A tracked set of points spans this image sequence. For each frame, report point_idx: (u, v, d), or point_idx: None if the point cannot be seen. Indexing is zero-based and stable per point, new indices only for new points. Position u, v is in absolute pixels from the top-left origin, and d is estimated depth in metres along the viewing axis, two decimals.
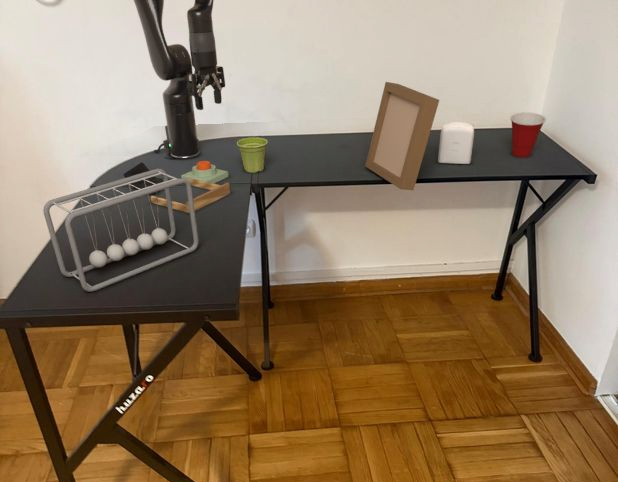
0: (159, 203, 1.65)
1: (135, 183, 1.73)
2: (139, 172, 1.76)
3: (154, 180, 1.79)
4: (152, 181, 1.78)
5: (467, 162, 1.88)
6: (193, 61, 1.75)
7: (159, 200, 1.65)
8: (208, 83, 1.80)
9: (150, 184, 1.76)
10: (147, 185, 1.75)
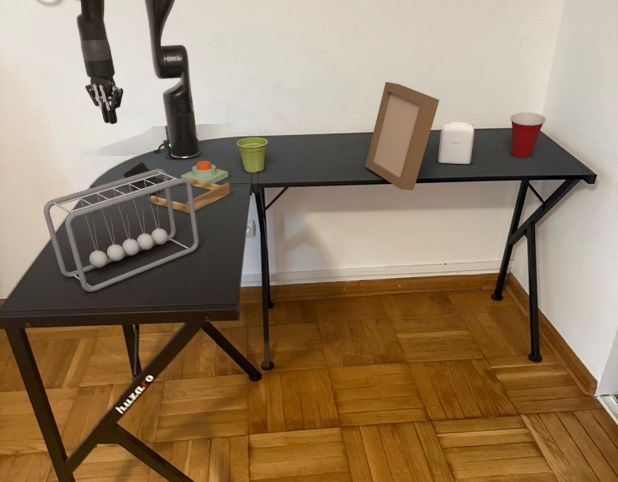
0: (159, 203, 1.65)
1: (135, 183, 1.73)
2: (139, 172, 1.76)
3: (154, 180, 1.79)
4: (152, 181, 1.78)
5: (467, 162, 1.88)
6: None
7: (159, 200, 1.65)
8: (101, 94, 1.67)
9: (150, 184, 1.76)
10: (147, 185, 1.75)
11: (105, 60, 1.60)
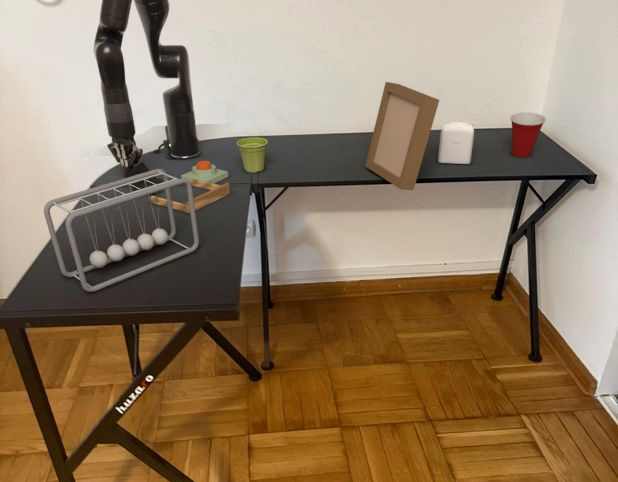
0: (159, 203, 1.65)
1: (135, 183, 1.73)
2: (139, 172, 1.76)
3: (154, 180, 1.79)
4: (152, 181, 1.78)
5: (467, 162, 1.88)
6: None
7: (159, 200, 1.65)
8: (121, 152, 1.74)
9: (150, 184, 1.76)
10: (147, 185, 1.75)
11: (127, 122, 1.67)
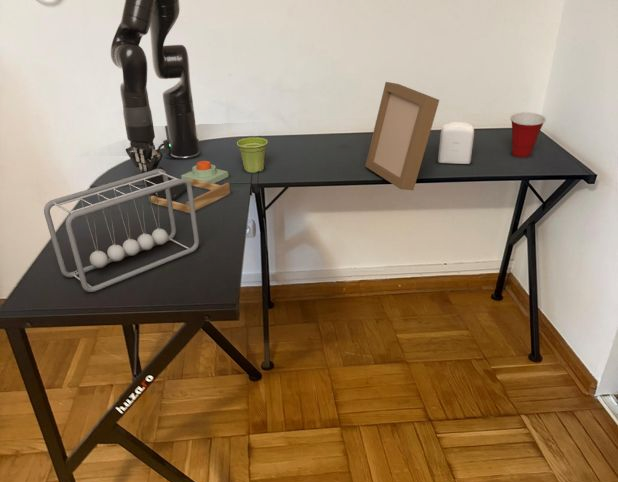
0: (159, 203, 1.65)
1: None
2: (158, 177, 1.72)
3: None
4: None
5: (467, 162, 1.88)
6: None
7: (159, 200, 1.65)
8: (140, 156, 1.70)
9: (170, 190, 1.72)
10: None
11: (146, 126, 1.64)
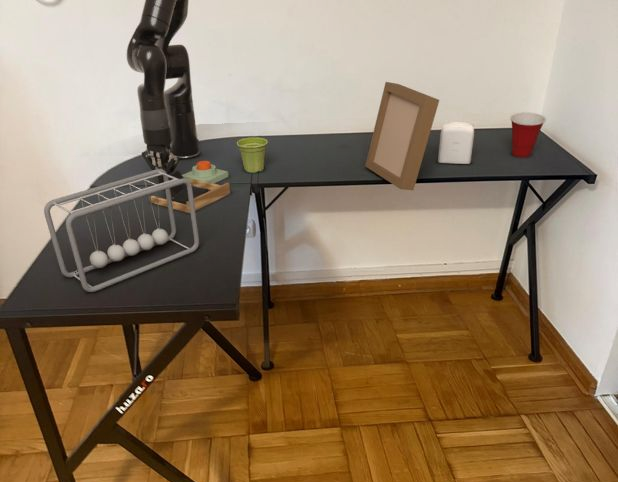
0: (159, 203, 1.65)
1: (171, 193, 1.66)
2: None
3: None
4: None
5: (467, 162, 1.88)
6: None
7: (159, 200, 1.65)
8: (156, 160, 1.67)
9: (186, 194, 1.69)
10: (183, 195, 1.68)
11: (164, 129, 1.61)
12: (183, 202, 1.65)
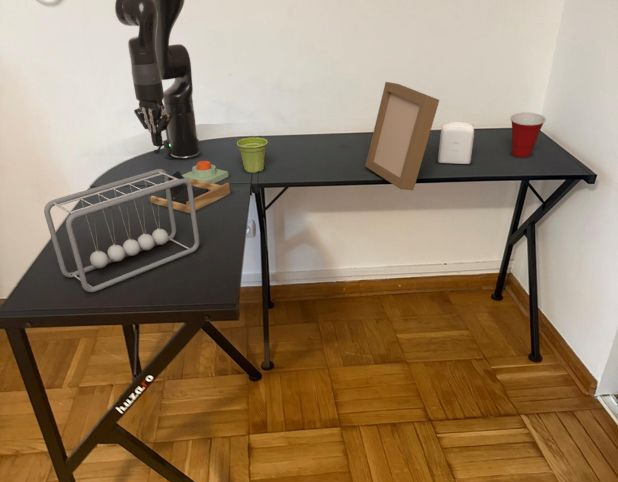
0: (159, 203, 1.65)
1: (172, 193, 1.66)
2: None
3: None
4: None
5: (467, 162, 1.88)
6: None
7: (159, 200, 1.65)
8: (149, 117, 1.66)
9: (187, 194, 1.69)
10: (184, 195, 1.68)
11: (155, 84, 1.59)
12: (183, 202, 1.65)
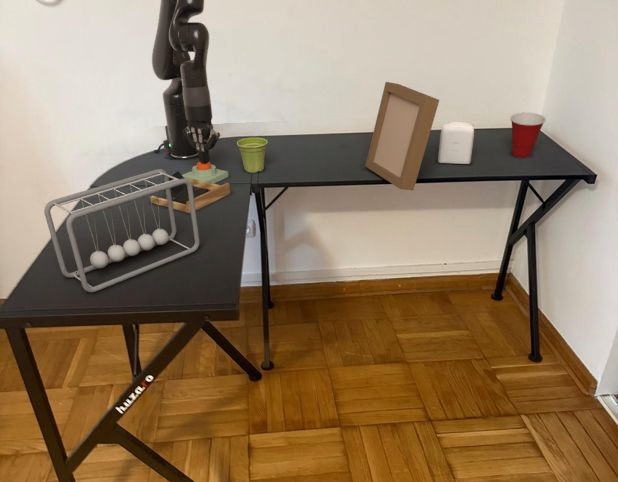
0: (159, 203, 1.65)
1: (172, 193, 1.66)
2: None
3: None
4: None
5: (467, 162, 1.88)
6: None
7: (159, 200, 1.65)
8: (197, 136, 1.74)
9: (187, 194, 1.69)
10: (184, 195, 1.68)
11: (206, 105, 1.68)
12: (183, 202, 1.65)
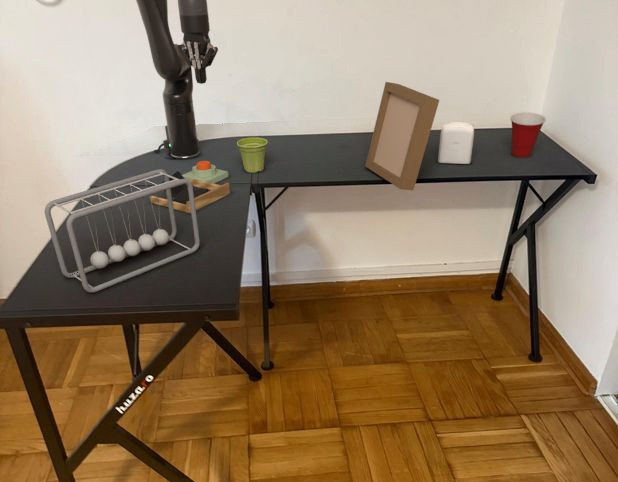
0: (159, 203, 1.65)
1: (172, 193, 1.66)
2: None
3: None
4: None
5: (467, 162, 1.88)
6: None
7: (159, 200, 1.65)
8: (194, 52, 1.62)
9: (187, 194, 1.69)
10: (184, 195, 1.68)
11: (202, 15, 1.55)
12: (183, 202, 1.65)
